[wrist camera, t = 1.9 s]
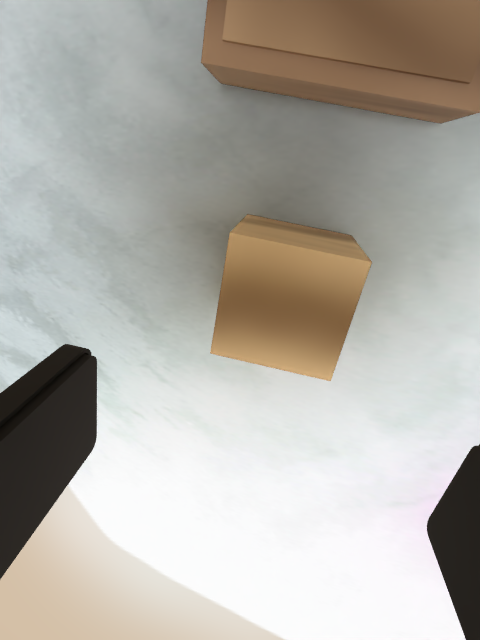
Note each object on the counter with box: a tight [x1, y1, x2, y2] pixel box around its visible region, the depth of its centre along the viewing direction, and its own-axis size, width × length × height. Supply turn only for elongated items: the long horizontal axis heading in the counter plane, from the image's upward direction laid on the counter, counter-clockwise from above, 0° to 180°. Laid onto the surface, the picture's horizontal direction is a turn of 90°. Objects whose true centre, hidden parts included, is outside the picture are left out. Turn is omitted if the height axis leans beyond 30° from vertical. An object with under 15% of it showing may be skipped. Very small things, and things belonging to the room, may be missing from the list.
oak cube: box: [210, 214, 372, 381], centre depth 19 cm, size 6×6×6 cm
